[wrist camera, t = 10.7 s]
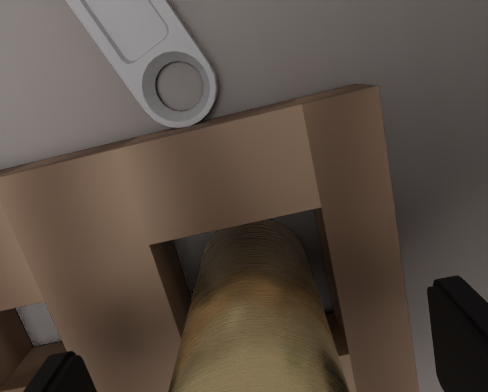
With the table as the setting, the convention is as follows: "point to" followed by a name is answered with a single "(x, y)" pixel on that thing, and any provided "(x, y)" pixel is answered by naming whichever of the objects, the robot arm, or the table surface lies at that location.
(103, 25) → the adjustable wrench
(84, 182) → the socket board
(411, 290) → the table surface
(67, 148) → the table surface
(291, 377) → the brass peg
